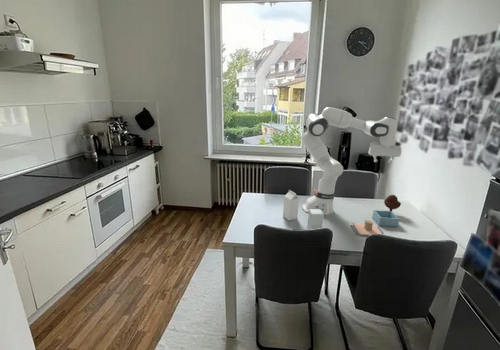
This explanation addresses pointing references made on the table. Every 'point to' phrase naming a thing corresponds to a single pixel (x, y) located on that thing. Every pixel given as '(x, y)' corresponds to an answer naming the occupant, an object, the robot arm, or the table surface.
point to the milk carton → (290, 206)
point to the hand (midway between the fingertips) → (382, 162)
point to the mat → (359, 234)
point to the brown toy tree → (392, 202)
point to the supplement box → (315, 219)
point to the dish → (385, 218)
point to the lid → (366, 228)
